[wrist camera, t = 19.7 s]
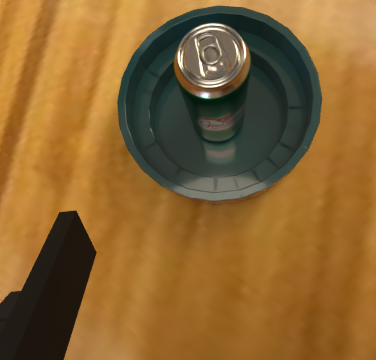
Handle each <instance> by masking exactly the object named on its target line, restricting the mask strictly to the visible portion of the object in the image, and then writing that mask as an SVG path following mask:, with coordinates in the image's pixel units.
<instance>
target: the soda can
mask: <svg viewBox="0 0 376 360" xmlns="http://www.w3.org/2000/svg"><path fill="white" fill-rule="evenodd" d="M250 69H251V55H250V52H249V49H248V47H247V45H246V43H245V42H244V40H243V39H242V38H241V36H240V35H239V34H238V33H237V32H236V31H235V30H234V29H232V28H231V27H229V26H227V25H224V24H221V23H206V24H202V25H199V26H197V27H195V28H193V29H192V30H190V31H189V32H188V33H187V34H186V35H185V36H184V38H183V39H182V41H181V42H180V45H179V47H178V49H177V52H176V54H175V58H174V73H175V77H176V80H177V83H178V85H179V88H180V91H181V94H182V97H183V99H184V102H185V105H186V108H187V110H188V113H189V116H190V119H191V122H192V124H193V127H194V129H195V130H196V132H197V133H198V134H199V135H200V136H202V137H203V138H205V139H208V140H211V141H223V140H227V139H229V138H231V137H232V136H234V135H235V134H236V133H237V132H238V131H239V130H240V128H241V126H242V124H243V121H244V115H245V108H246V100H247V92H248V85H249V77H250Z"/></svg>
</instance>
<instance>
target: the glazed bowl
mask: <svg viewBox="0 0 376 360" xmlns="http://www.w3.org/2000/svg"><path fill="white" fill-rule="evenodd" d="M206 23H221V24H224V25H227V26H229V27H231V28H232V29H234V30H235V31H236V32H237V33H238V34H239V35H240V36H241V38H242V39H243V40H244V42H245V43H246V45H247V47H248V49H249V52H250V55H251V69H250V77H249V85H248V92H247V100H246V108H245V115H244V121H243V124H242V126H241V128H240V130H239V131H238V132H237V133H236V134H235V135H234V136H232V137H231V138H229V139H227V140H223V141H211V140H208V139H205V138H203V137H202V136H200V135H199V134H198V133H197V132H196V130H195V129H194V127H193V124H192V122H191V119H190V116H189V113H188V110H187V108H186V105H185V102H184V99H183V97H182V94H181V91H180V88H179V85H178V83H177V80H176V77H175V73H174V58H175V54H176V52H177V49H178V47H179V45H180V42H181V41H182V39H183V38H184V36H185V35H186V34H187V33H188V32H189V31H190V30H192V29H193V28H195V27H197V26H199V25H202V24H206ZM321 104H322V94H321V88H320V82H319V76H318V72H317V69H316V67H315V65H314V63H313V61H312V59H311V57H310V55H309V53H308V51H307V49H306V47H305V46H304V45H303V44H302V43H301V42H300V41H299V40H298V39H297V37H296V36H295V35H294V34H293V33H292V32H291V31H290V30H289V29H288V28H287V27H285V26H284V25H282V24H280V23H279V22H277V21H276V20H274V19H273V18H271V17H270V16H267V15H265V14H262V13H259V12H256V11H253V10H250V9H247V8H243V7H230V6H213V7H208V8H202V9H196V10H193V11H190V12H187V13H185V14H183V15H180V16H178V17H176V18H173V19H171V20H170V21H168V22H166V23H165V24H163V25H162V26H161V27H159V28H158V29H157V30H155V31H154V32H153V33H151V34H150V35H149V36H148V37H147V38H146V39H145V40H144V42H143V43H142V44H141V45H140V47H139V48H138V49H137V50H136V51H135V53H134V54H133V56H132V58H131V60H130V62H129V64H128V66H127V68H126V70H125V72H124V74H123V77H122V80H121V86H120V91H119V96H118V115H119V125H120V129H121V132H122V135H123V138H124V141H125V144H126V146H127V149H128V151H129V152H130V153H131V155H132V156H133V158H134V159H135V161H136V162H137V163H138V165H139V166H140V168H141V169H142V170H143V171H144V172H145V173H146V174H148V175H149V176H150V177H151V178H153V179H154V180H155V181H156V182H157V183H159V184H160V185H161V186H163V187H164V188H166V189H168V190H169V191H171V192H173V193H175V194H177V195H179V196H182V197H184V198H186V199H188V200H191V201H193V202H200V203H206V204H213V205H221V204H230V203H239V202H242V201H245V200H248V199H250V198H253V197H255V196H258V195H261V194H262V193H264V192H266V191H267V190H268V189H270V188H271V187H273V186H274V185H275V184H277V183H278V182H279V181H281V180H282V179H283V178H284V177H285V176H286V175H287V174H289V173H290V172H291V171H292V170H293V168H294V167H295V166H296V164H297V163H298V162H299V161H300V159H301V158H302V157H303V156H304V154H305V153H306V152H307V151H308V149H309V147H310V145H311V142H312V140H313V137H314V135H315V133H316V130H317V128H318V126H319V121H320V113H321Z"/></svg>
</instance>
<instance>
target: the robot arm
mask: <svg viewBox="0 0 376 360" xmlns="http://www.w3.org/2000/svg"><path fill="white" fill-rule="evenodd" d="M95 256H96V251H95V249H94V246H93V244H92V242H91V240H90V238H89V236H88V234H87V232H86V230H85V228H84V226H83V224H82V222H81V219H80V217H79V215H78V213H77V211H67V212H59V215H58V217H57V219H56V221H55V223H54V225H53V227H52V229H51V231H50V233H49V235H48V237H47V239H46V241H45V243H44V245H43V247H42V249H41V252H40V254H39V256H38V258H37V260H36V262H35V264H34V266H33V268H32V270H31V272H30V274H29V276H28V278H27V280H26V282H25V284H24V287H23V289H22V291H16V292H11V293H10V294H9V295H8V296H7V297H6V298H5V299H4V300H3V301H2V302H1V304H0V360H64V357H65V354H66V350H67V347H68V344H69V341H70V337H71V334H72V331H73V328H74V324H75V321H76V318H77V315H78V311H79V308H80V305H81V302H82V298H83V295H84V292H85V289H86V285H87V282H88V279H89V276H90V272H91V269H92V266H93V263H94V259H95Z"/></svg>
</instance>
